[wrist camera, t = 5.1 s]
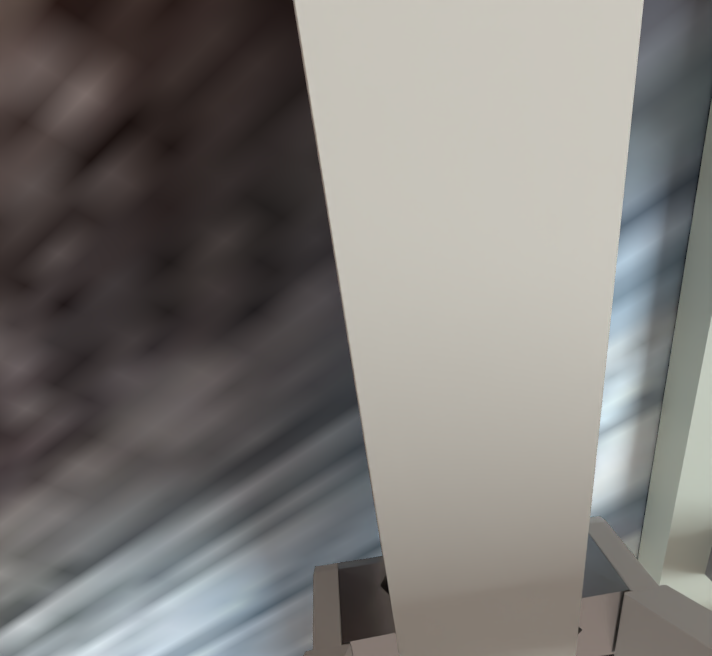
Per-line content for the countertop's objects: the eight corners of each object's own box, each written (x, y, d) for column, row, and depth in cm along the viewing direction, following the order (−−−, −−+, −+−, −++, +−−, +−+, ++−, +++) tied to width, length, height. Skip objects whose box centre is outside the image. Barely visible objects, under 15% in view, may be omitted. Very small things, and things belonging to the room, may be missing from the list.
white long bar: (234, -99, 6) (60, -651, 2) (532, -139, 6) (962, -733, 2) (401, 774, 16) (431, 992, 11) (516, 752, 16) (586, 959, 12)
